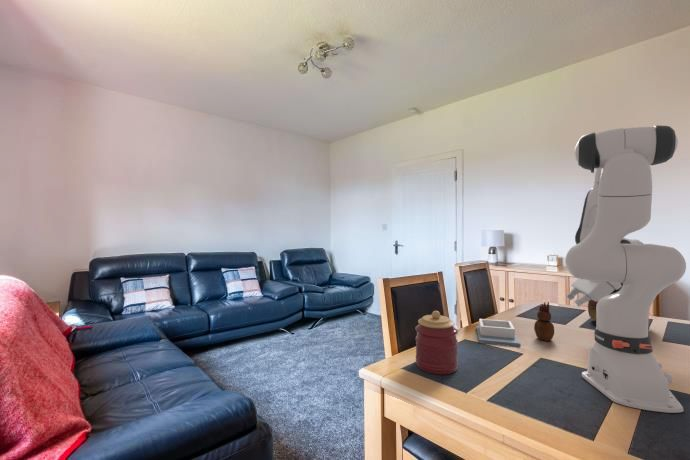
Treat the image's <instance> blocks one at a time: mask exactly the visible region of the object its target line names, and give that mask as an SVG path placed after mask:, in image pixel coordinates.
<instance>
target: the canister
mask: <svg viewBox="0 0 690 460" xmlns="http://www.w3.org/2000/svg"><path fill="white" fill-rule="evenodd" d="M417 323H418V324H417V325H416V326H415V331H416V336H415V351H416V352H415V362H416V363H415V364H416V366H417V368H419V370H422V372H426V373H429V374H433V375H449V374H453V373H454V372H456V371H457V370H458V366H459V360H458V343H459V342H458V339H457V334H458V333H459V332H458V329H457V328H456V327H455V325H456V323H455V321H453V320H452V319H450V317H448V316H445V315H441V313H440V312H439V311H438V310H433V311H432V312H431V314H426V315H423V316H422V317H421V318H419V319H418V320H417Z"/></svg>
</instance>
